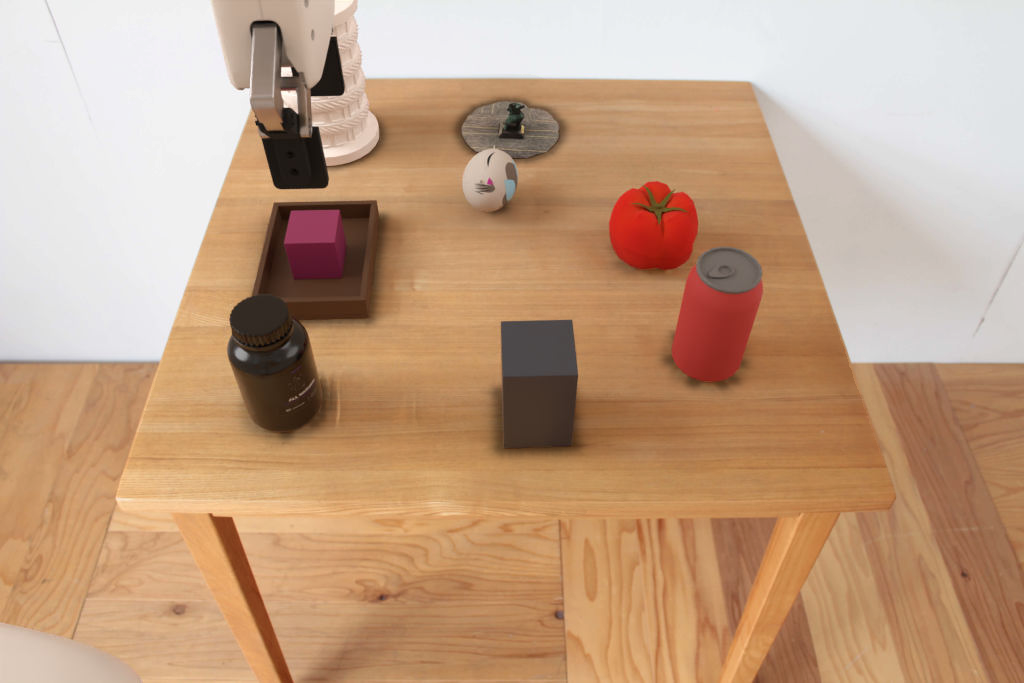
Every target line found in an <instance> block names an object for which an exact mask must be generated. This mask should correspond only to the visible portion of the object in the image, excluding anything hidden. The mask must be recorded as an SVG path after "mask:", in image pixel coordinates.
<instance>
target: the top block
mask: <svg viewBox="0 0 1024 683" xmlns="http://www.w3.org/2000/svg"><path fill="white" fill-rule="evenodd" d="M284 245H285V249H286V253H287V256H288V260H289V264H290V268H291V271H292V275H293V279H331V278H342V276H343V269H344V262H345V254H346V247H347V244H346V239H345V234H344V229H343V224H342V219H341V214H340V210H303V211H291V213H290V218H289V222H288V227H287V232H286V237H285V241H284Z"/></svg>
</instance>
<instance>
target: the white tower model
mask: <svg viewBox="0 0 1024 683" xmlns="http://www.w3.org/2000/svg"><path fill="white" fill-rule="evenodd" d="M358 4H359V2H358V0H335V12H334V21H333V25H334V32H333V35H331V37H336V36H337V42H338V48H339V54H340V60H341V66H342V72H343V78H344V84H345V91H344V94H343V95H341V96H311V110H312V126H319V131H320V136H321V141H322V146H323V151H324V156H325V161H326V166H327V167H333V166H335V167H336V166H341V165H344V164H349V163H352V162H354V161H357V160H360V159H362V158H363V157H364V156H366V155H368V154H369V153H370V152H371V151H372V150H373V149H374V148H375V147H376V145H377V144H378V141H379V140H380V127H379V122H378V119H377V117H376V115H375V114H373V112H371V111H370V103H369V101H370V99H368V98H369V97H368V95H367V93H366V91H365V90H366V82H367V80H366V79H365V78H366V75H365V72H364V70H363V68H362V60H363V58H362V57H363V54H362V50H361V47H360V45H359V44H360V43H359V42H358V37H359V28H358V27H359V25H358V23H357V20H356V18H355V16H354V15H355V14H356V12H357V10H358V8H359V7H358V6H359V5H358ZM291 76H292V71H291V67H281V77H291ZM281 95H282V99H283V101H284V108H291V109H293V110H294V111H295V112H296V113H297V114H298V106H297V93H296V91H281Z"/></svg>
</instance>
